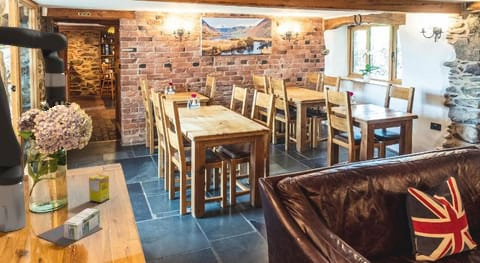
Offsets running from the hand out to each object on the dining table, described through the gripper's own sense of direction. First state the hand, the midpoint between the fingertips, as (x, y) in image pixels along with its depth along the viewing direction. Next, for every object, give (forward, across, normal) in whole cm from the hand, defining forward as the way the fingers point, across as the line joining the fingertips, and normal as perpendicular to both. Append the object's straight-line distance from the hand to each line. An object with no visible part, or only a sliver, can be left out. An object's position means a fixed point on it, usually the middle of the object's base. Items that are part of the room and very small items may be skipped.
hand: (57, 127), depth 171 cm
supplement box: (+33, -12, +10) cm, 37 cm away
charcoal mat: (+33, +16, +25) cm, 44 cm away
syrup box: (+30, +5, +26) cm, 40 cm away
